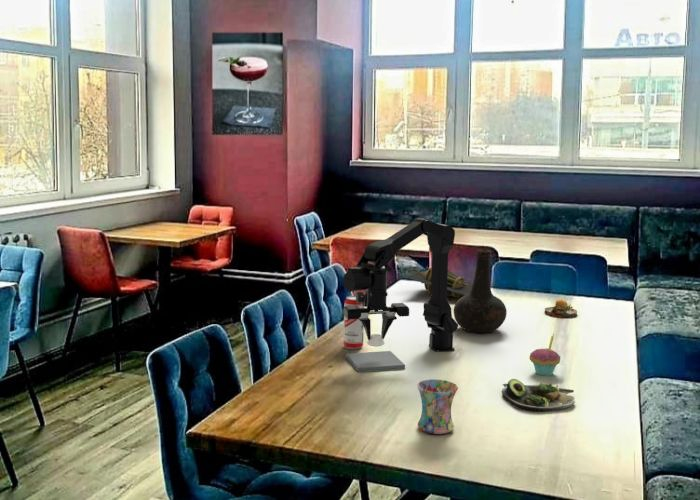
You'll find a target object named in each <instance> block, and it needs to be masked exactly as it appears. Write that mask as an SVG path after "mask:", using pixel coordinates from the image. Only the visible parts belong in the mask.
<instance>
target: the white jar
mask: <svg viewBox="0 0 700 500" xmlns="http://www.w3.org/2000/svg"><path fill="white" fill-rule="evenodd" d="M366 344H367V345H368V346H370V347H375V348H376V347H382V346H384V345H385V340H384V339H383V338H382V337H381V333H372V334H371V337H370V340H368V339H367V342H366Z"/></svg>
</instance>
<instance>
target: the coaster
mask: <svg viewBox="0 0 700 500" xmlns="http://www.w3.org/2000/svg"><path fill="white" fill-rule="evenodd" d="M345 358H346V359H347V361H349V363H350V364H351V365H352V366H353V367H354V369H355V370H356V371H357V372H358V373H362V372H363V373H364V372H375V371H376V372H377V371H378V372H379V371H392V370H394V371H395V370H405V369H406V364H405V363H404V362H402V360H401V359H399V358H398V356H397V355H395V354H394V353H393V352H392V350H385V351H384V350H382V351H366V352H364V351H363V352H352V353H351V352H350V353H346V354H345Z"/></svg>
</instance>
